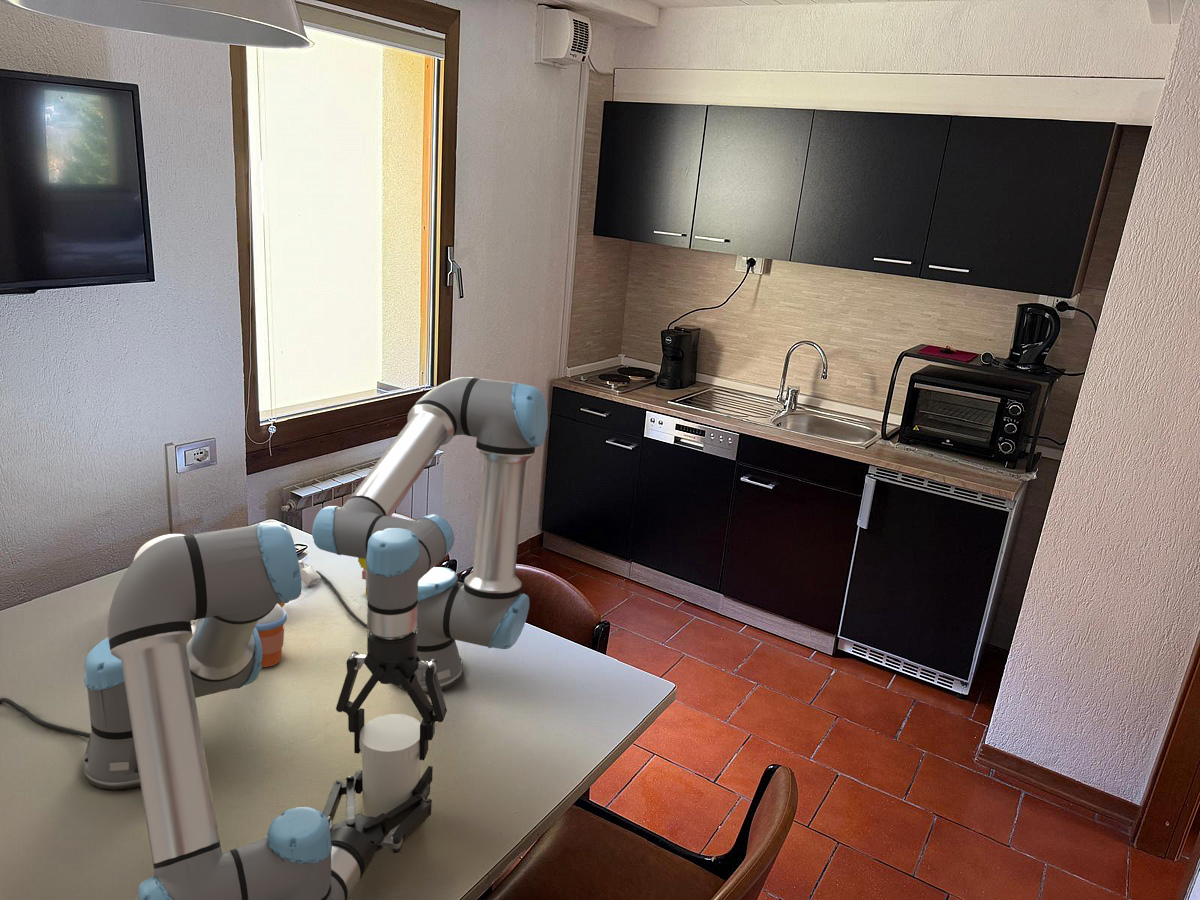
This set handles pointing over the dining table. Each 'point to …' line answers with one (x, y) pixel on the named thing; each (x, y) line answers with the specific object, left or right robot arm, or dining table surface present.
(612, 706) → the dining table surface
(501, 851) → the dining table surface
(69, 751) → the dining table surface
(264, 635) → the cup with straw
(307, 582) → the clamp
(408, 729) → the lid
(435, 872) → the dining table surface
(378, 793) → the jar
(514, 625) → the right robot arm
